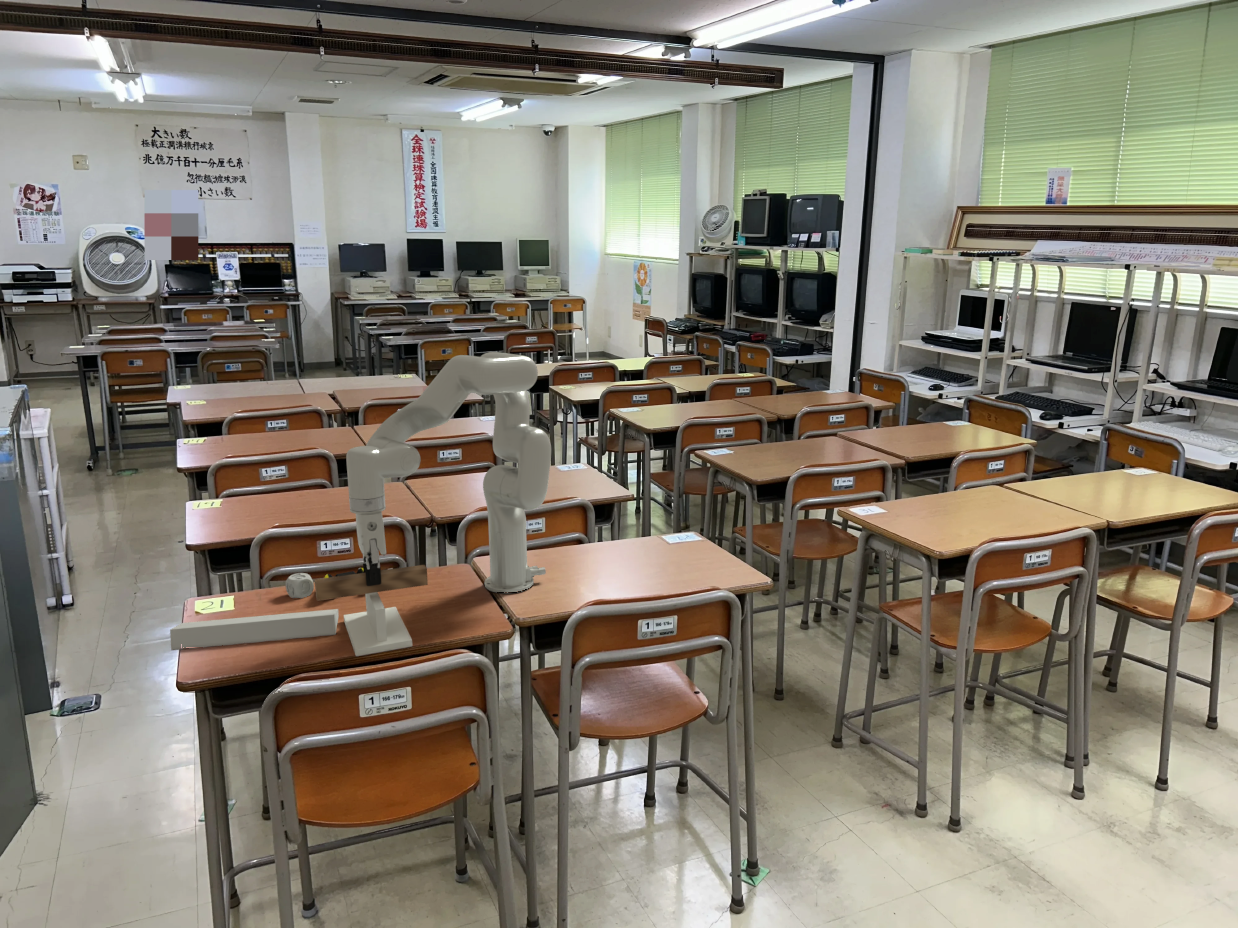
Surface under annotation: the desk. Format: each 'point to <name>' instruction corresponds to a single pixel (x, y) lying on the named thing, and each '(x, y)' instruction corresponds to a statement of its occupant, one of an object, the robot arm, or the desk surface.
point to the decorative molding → (254, 629)
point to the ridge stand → (376, 628)
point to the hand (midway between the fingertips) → (372, 581)
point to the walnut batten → (357, 586)
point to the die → (299, 585)
